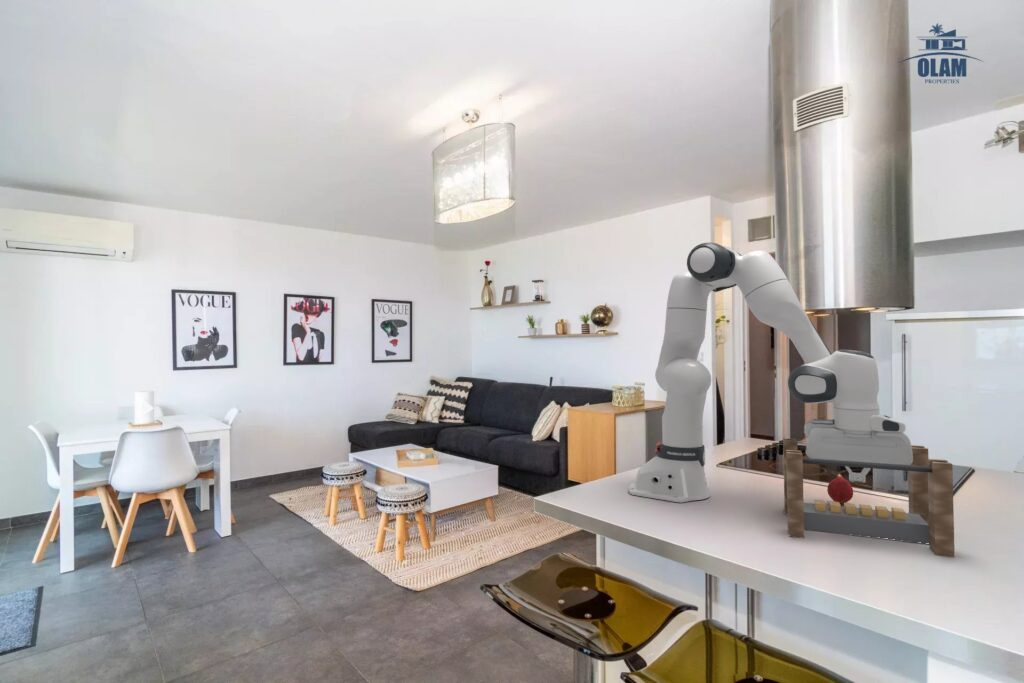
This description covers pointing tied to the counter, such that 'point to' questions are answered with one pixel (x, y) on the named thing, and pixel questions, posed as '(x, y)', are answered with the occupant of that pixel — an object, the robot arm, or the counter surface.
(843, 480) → the onion
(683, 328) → the robot arm
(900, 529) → the breaker strip
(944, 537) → the cord posts
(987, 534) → the counter surface
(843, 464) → the rod
